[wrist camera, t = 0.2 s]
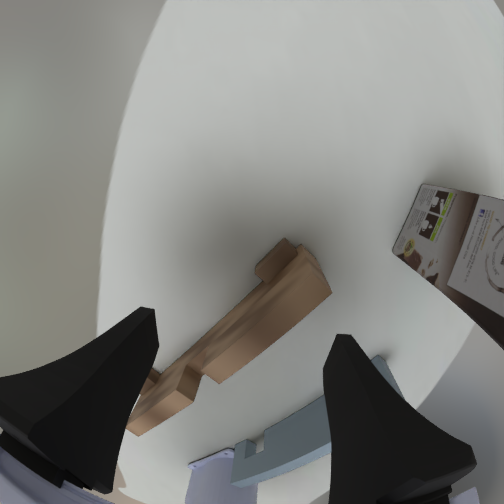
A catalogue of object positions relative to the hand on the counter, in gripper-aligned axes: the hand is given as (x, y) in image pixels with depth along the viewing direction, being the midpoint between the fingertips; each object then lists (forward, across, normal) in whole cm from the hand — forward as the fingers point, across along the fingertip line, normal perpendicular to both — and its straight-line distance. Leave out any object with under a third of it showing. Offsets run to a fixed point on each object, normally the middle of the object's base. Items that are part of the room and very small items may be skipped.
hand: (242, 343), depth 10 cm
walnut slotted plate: (+9, +3, +9) cm, 13 cm away
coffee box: (+11, -16, -2) cm, 19 cm away
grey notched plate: (+8, -7, +18) cm, 21 cm away
